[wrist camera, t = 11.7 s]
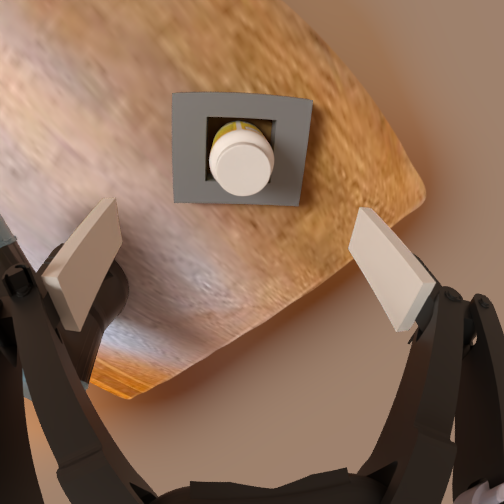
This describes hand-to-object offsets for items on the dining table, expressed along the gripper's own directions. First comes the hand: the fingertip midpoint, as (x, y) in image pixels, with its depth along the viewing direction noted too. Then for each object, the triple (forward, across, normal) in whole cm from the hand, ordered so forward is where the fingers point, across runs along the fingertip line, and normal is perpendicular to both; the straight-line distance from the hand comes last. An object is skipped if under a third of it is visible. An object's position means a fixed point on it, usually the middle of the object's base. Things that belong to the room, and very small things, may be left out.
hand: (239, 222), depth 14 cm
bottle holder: (+21, -1, 0) cm, 21 cm away
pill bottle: (+21, -1, 0) cm, 21 cm away
